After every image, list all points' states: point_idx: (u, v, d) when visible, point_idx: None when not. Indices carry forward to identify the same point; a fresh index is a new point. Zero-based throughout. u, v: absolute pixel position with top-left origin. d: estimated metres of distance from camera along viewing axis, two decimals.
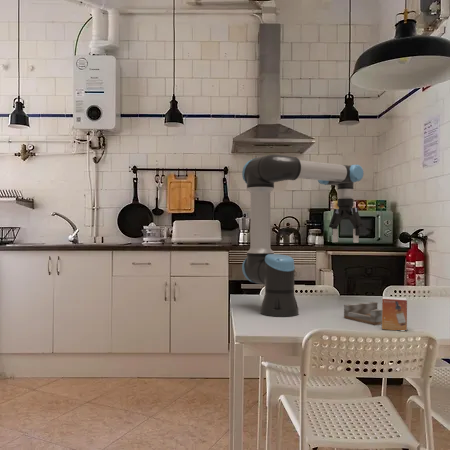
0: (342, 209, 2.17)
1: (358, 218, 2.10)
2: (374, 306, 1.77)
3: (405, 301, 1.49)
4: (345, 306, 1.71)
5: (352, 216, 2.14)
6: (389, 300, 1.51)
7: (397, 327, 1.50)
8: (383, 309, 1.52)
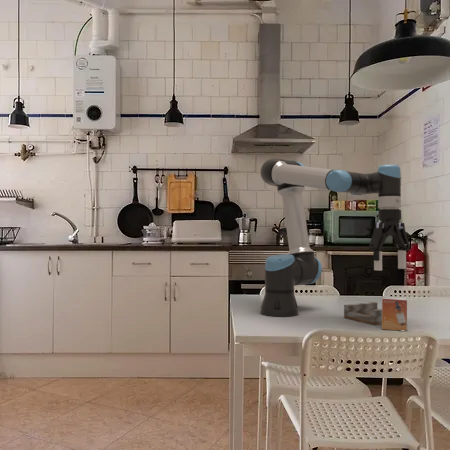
0: None
1: (374, 237, 1.53)
2: (374, 306, 1.77)
3: (405, 301, 1.49)
4: (345, 306, 1.71)
5: (383, 234, 1.55)
6: (389, 300, 1.51)
7: (397, 327, 1.50)
8: (383, 309, 1.52)
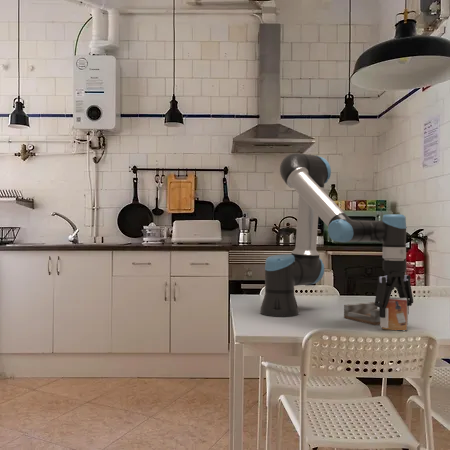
0: None
1: (379, 293, 1.50)
2: (374, 306, 1.77)
3: (405, 301, 1.49)
4: (345, 306, 1.71)
5: (388, 288, 1.51)
6: (389, 300, 1.51)
7: (397, 327, 1.50)
8: None
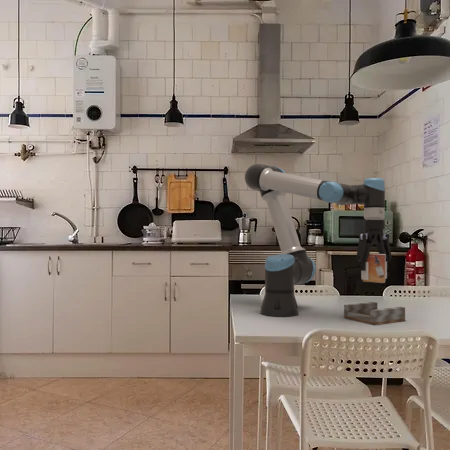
0: None
1: (359, 248, 1.66)
2: (374, 306, 1.77)
3: (383, 255, 1.66)
4: (345, 306, 1.71)
5: (368, 244, 1.68)
6: (369, 255, 1.68)
7: (376, 279, 1.67)
8: None
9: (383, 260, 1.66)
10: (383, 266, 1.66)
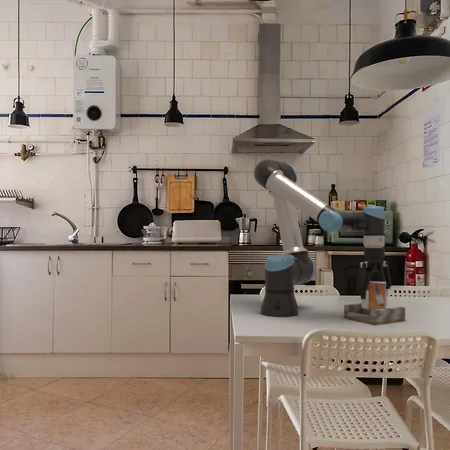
0: None
1: (360, 277, 1.66)
2: None
3: (383, 284, 1.66)
4: (345, 306, 1.71)
5: (368, 272, 1.68)
6: (369, 283, 1.68)
7: (376, 308, 1.67)
8: None
9: (383, 288, 1.66)
10: (383, 294, 1.66)
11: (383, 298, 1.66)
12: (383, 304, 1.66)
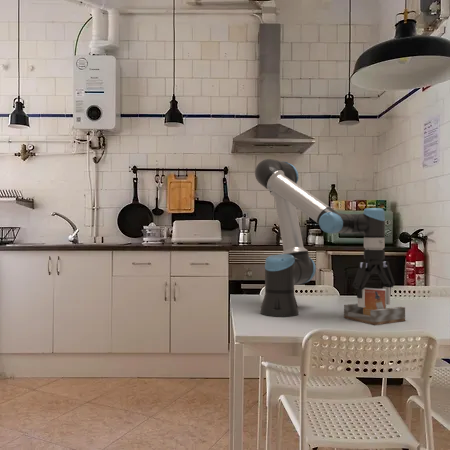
0: None
1: (357, 276, 1.66)
2: None
3: (383, 291, 1.66)
4: (345, 306, 1.71)
5: (367, 273, 1.67)
6: (369, 290, 1.68)
7: None
8: None
9: (383, 296, 1.66)
10: (383, 302, 1.66)
11: (383, 305, 1.66)
12: None
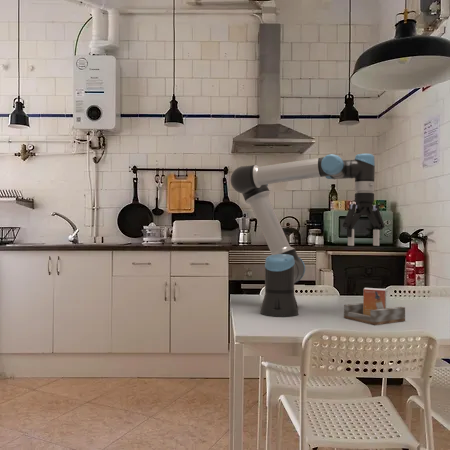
0: None
1: (347, 216, 1.77)
2: None
3: (383, 291, 1.66)
4: (345, 306, 1.71)
5: (357, 214, 1.79)
6: (369, 290, 1.68)
7: None
8: (364, 298, 1.69)
9: (383, 296, 1.66)
10: (383, 302, 1.66)
11: (383, 305, 1.66)
12: None
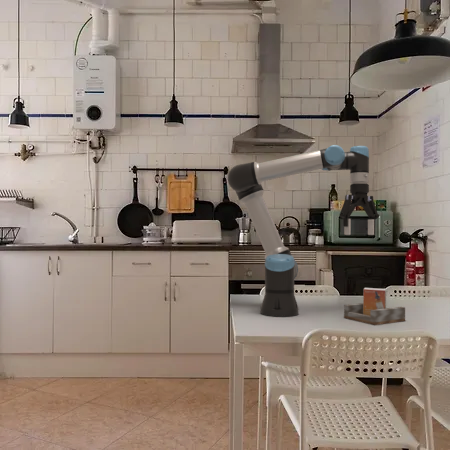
0: None
1: (344, 206, 1.83)
2: None
3: (383, 291, 1.66)
4: (345, 306, 1.71)
5: (353, 204, 1.85)
6: (369, 290, 1.68)
7: None
8: (364, 298, 1.69)
9: (383, 296, 1.66)
10: (383, 302, 1.66)
11: (383, 305, 1.66)
12: None
